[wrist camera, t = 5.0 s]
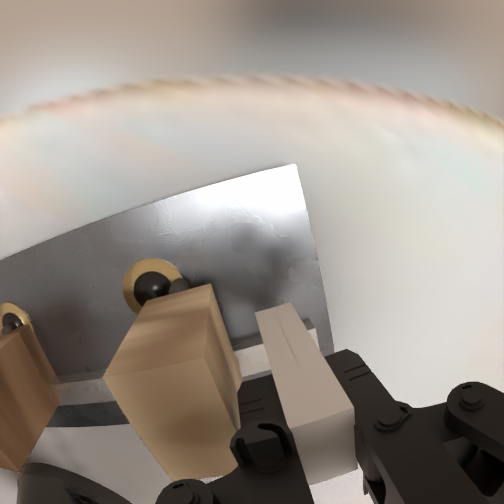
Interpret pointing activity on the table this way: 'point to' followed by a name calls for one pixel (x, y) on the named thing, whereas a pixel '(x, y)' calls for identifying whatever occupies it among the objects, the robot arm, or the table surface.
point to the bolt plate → (166, 281)
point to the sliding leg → (180, 382)
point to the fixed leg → (23, 394)
